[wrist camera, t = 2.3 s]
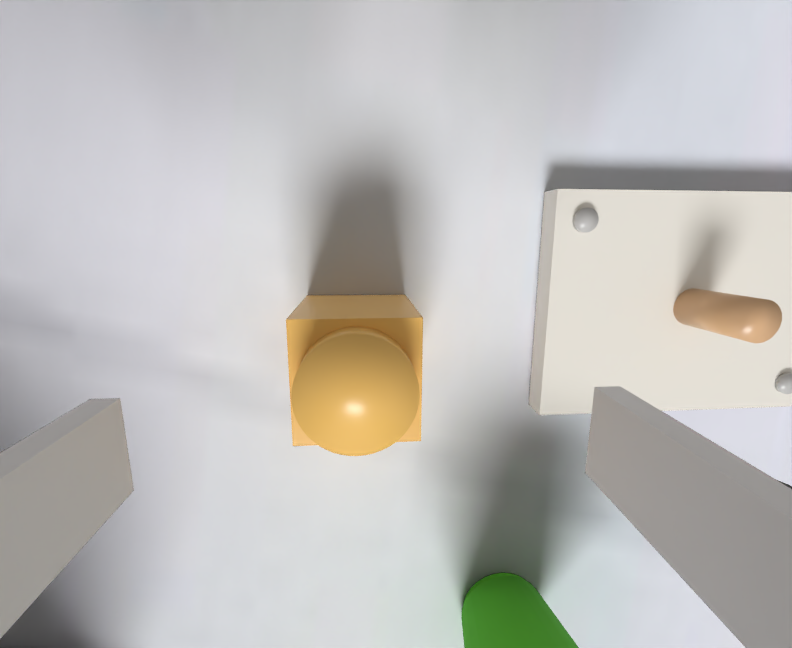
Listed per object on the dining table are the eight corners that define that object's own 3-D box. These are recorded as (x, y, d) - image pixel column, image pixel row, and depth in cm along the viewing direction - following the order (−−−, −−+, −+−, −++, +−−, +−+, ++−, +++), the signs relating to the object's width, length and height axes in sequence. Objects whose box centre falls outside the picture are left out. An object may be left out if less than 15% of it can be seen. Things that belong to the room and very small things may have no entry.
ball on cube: (311, 388, 23) (286, 466, 15) (307, 295, 22) (278, 328, 14) (404, 385, 23) (426, 460, 16) (404, 294, 22) (429, 325, 14)
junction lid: (528, 404, 24) (576, 452, 19) (544, 191, 22) (604, 177, 16) (777, 396, 26) (887, 438, 20) (818, 195, 23) (957, 182, 18)
